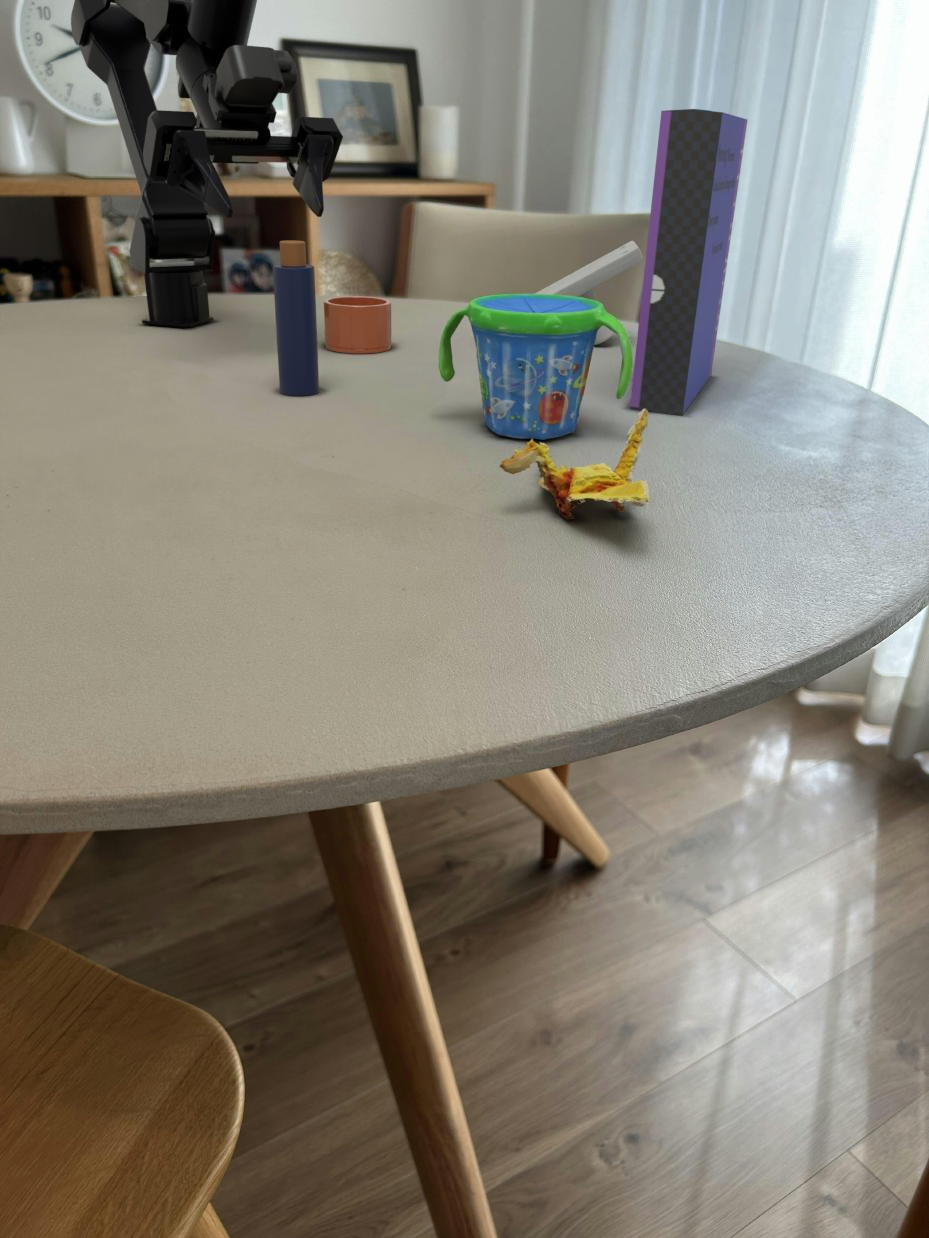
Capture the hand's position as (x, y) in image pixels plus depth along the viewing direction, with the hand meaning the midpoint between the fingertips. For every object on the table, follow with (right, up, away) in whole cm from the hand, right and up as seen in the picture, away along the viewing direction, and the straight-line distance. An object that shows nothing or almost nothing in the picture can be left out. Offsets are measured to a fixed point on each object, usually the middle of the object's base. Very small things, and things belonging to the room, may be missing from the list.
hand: (277, 214), depth 90 cm
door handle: (+29, -3, +29) cm, 41 cm away
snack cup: (+23, -23, -11) cm, 34 cm away
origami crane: (+26, -31, -28) cm, 50 cm away
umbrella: (+2, -17, -1) cm, 17 cm away
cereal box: (+38, -16, +3) cm, 41 cm away
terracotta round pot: (+6, -7, +18) cm, 21 cm away
